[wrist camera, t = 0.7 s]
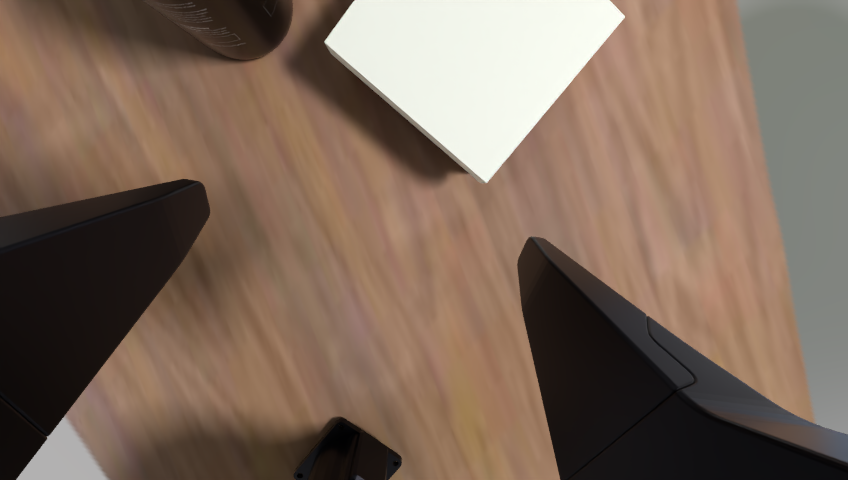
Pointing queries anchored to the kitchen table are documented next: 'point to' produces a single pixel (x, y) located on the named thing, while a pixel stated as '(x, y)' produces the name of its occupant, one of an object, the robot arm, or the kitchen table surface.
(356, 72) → the white square riser
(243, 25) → the supplement bottle
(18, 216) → the robot arm
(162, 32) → the kitchen table surface
